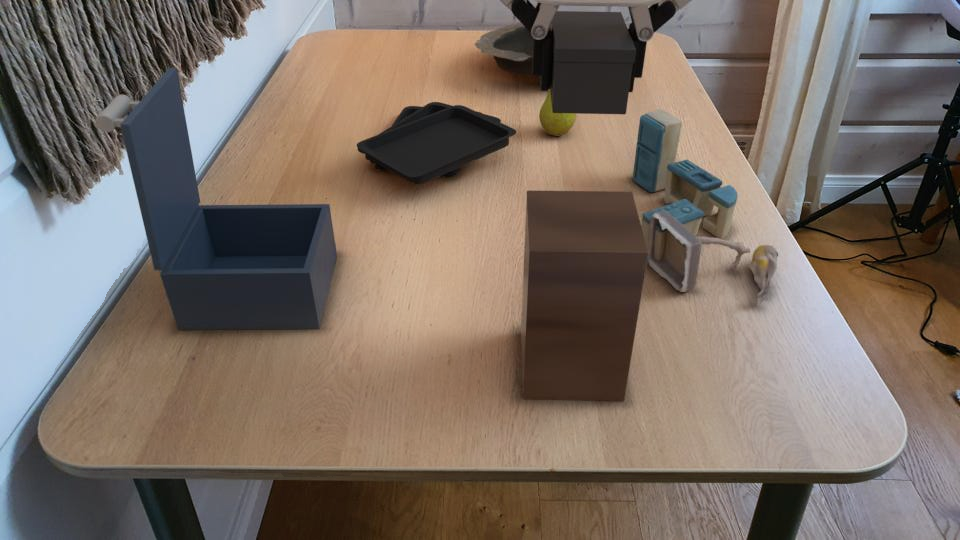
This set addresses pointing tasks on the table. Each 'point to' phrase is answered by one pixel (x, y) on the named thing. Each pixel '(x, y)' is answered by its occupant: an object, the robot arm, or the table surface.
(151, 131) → the box lid
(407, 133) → the tray
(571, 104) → the dark grey rectangular block
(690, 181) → the toy kitchen set
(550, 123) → the fruit
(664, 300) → the table surface
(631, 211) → the stand
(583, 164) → the table surface
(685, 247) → the decorative sculpture
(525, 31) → the stone bowl
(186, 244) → the storage box
